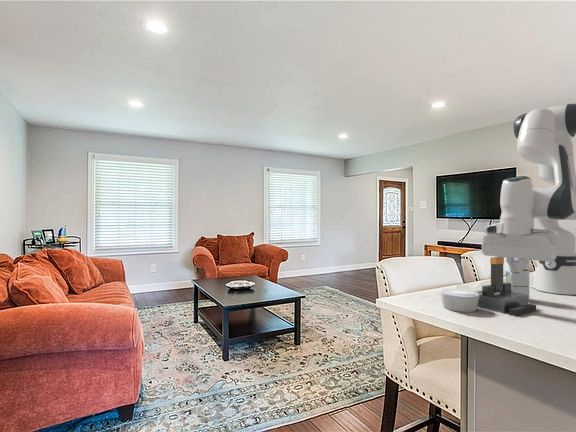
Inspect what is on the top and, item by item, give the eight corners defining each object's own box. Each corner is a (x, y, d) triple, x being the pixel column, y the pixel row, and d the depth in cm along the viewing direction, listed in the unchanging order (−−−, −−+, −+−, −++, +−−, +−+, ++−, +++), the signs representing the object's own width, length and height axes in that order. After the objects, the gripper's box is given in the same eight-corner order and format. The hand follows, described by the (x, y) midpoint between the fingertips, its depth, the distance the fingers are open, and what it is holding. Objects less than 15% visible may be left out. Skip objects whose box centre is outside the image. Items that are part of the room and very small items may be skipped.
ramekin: (462, 315, 103) (462, 297, 103) (432, 306, 113) (432, 290, 113) (487, 311, 108) (487, 294, 108) (456, 303, 118) (456, 287, 118)
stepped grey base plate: (490, 299, 123) (490, 279, 123) (528, 307, 113) (528, 285, 113) (466, 304, 116) (466, 283, 116) (504, 313, 105) (504, 290, 105)
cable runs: (469, 296, 128) (469, 291, 128) (537, 310, 109) (537, 304, 109) (446, 300, 121) (446, 295, 121) (515, 316, 102) (515, 310, 102)
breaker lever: (498, 291, 116) (498, 256, 116) (503, 292, 115) (503, 257, 115) (490, 292, 114) (490, 257, 114) (495, 293, 112) (496, 258, 112)
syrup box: (530, 301, 121) (530, 259, 121) (511, 300, 122) (511, 258, 122) (522, 297, 127) (522, 257, 127) (504, 296, 128) (504, 256, 128)
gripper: (560, 229, 102) (560, 277, 102) (489, 227, 119) (489, 268, 119) (550, 229, 99) (550, 278, 99) (479, 227, 116) (478, 269, 116)
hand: (516, 272), depth 109 cm, fingers closed
